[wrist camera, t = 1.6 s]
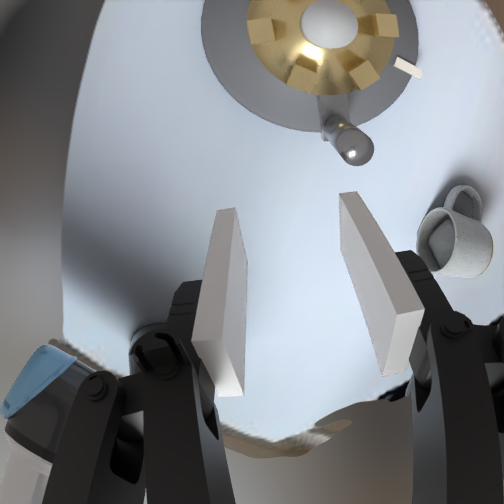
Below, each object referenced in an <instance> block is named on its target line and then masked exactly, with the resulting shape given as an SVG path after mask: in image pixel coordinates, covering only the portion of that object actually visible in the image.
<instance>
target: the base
mask: <svg viewBox="0 0 504 504" xmlns="http://www.w3.org/2000/svg"><path fill="white" fill-rule="evenodd" d="M250 1H251V0H205V3H204V6H203V12H202V18H201V34H202V42H203V47H204V50H205V54H206V57H207V60H208V62H209V64H210V66H211V69H212V71H213V72H214V74H215V75H216V77H217V79H218V80H219V82H220V83H221V84H222V86H223V87H224V88H225V89H226V91H227V92H228V93H229V94H230V95H231V96H232V97H233V98H234V99H235V100H236V101H237V102H238V103H240V104H241V105H242V106H244V107H245V108H246V109H248V110H249V111H250V112H252V113H254V114H255V115H257V116H259V117H261V118H262V119H265V120H267V121H269V122H271V123H274V124H276V125H279V126H283V127H286V128H289V129H294V130H299V131H307V132H321V128H320V119H319V110H318V102H317V94H309V93H306V92H303V91H301V90H298V89H295V88H293V87H291V86H289V85H287V84H285V83H284V82H282V81H280V80H279V79H278V78H276V77H275V76H274V75H273V74H271V73H270V72H269V71H268V70H267V69H266V68H265V67H264V66H263V65H262V63H261V62H260V61H259V59H258V58H257V56H256V54H255V53H254V51H253V49H252V46H251V44H250V40H249V36H248V32H247V12H248V7H249V4H250ZM385 2H386V4H387V6H388V8H389V10H390V13H391V14H395V15H396V17H397V23H398V30H399V37H395V38H394V46H393V51H392V54H391V56H390V59H389V61H388V63H387V65H386V66H385V68H384V69H383V70H382V72H381V73H380V74H379V77H380V79H379V80H377V81H376V82H374V83H373V84H371V85H370V86H368V87H366V88H365V89H363V90H362V91H361V90H358V89H357V90H355V91H352V92H349V93H347V94H348V104H349V116H350V122H351V123H352V124H353V125H355V126H358V125H360V124H362V123H365V122H367V121H369V120H371V119H373V118H374V117H376V116H378V115H379V114H381V113H382V112H383V111H385V110H386V109H387V108H389V107H390V106H391V105H392V104H393V103H394V102H395V101H396V100H397V99H398V97H399V96H400V95H401V93H402V92H403V91H404V89H405V88H406V86H407V84H408V82H409V80H410V79H411V76H414V77H416V78H418V79H420V78H421V75H422V72H423V70H421V69H419V68H418V67H416V66H415V64H416V60H417V55H418V29H417V24H416V19H415V16H414V13H413V10H412V7H411V5H410V3H409V1H408V0H385ZM299 26H300V30H301V33H302V35H303V36H304V38H305V39H306V40H307V41H308V42H309V43H311V44H312V45H314V46H316V47H319V48H324V49H331V48H340V47H344V46H346V45H348V44H349V43H351V42H352V41H353V39H354V38H355V36H356V34H357V31H358V22H357V18H356V16H355V14H354V12H353V11H352V10H351V9H350V8H349V7H348V6H347V5H346V4H344V3H342V2H340V1H338V0H318V1H316V2H314V3H312V4H311V5H310V6H309V7H307V8H306V9H305V10H304V11H303V13H302V15H301V17H300V21H299Z"/></svg>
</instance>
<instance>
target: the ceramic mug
mask: <svg viewBox="0 0 504 504" xmlns="http://www.w3.org/2000/svg"><path fill="white" fill-rule="evenodd" d="M461 191H464V192H466V193H467V194H468V195H469V196H470V197H472V200H473V205H474V206H473V208H474V211H473V218H469V217H467V216H464V215H462V214H460V213H457V212H455V211H453V205H454V203H455V201H456V198H457V196H458V194H459V193H460V192H461ZM481 217H482V201H481V198H480V196H479V194H478V192H477V191H476V190H475V189H474V188H472V187H471V186H468V185H457V186H455V187H453V188H452V189H451V190H450V191H449V193H448V195H447V198H446V200H445V203H444V206H443V207H437V208H434V209H433V210H431V211H430V212H429V213H428V214H427V215H426V216H425V218H424V219H423V221H422V223H421V225H420V228H419V231H418V235H417V243H416V249H417V255H418V256H420V257H421V258H422V259H423V261H424V262H425V264H426V265H427V267H428V270H429V271H430V272H431V273H432V274H433V275H442V276H452V277H461V278H470V277H475V276H478V275H480V274H481V273H483V272H484V271H485V270H486V268H487V267H488V265H489V263H490V261H491V258H492V254H493V241H492V237H491V234H490V232H489V231H488V229H487V228H486V227H485V226H484V225H483V224H481Z"/></svg>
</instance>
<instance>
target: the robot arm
mask: <svg viewBox="0 0 504 504" xmlns="http://www.w3.org/2000/svg"><path fill="white" fill-rule="evenodd" d="M339 209H340V246H341V252H342V255H343V258H344V261H345V263H346V266H347V269H348V272H349V274H350V277H351V280H352V283H353V286H354V289H355V292H356V294H357V297H358V300H359V303H360V306H361V309H362V312H363V315H364V318H365V321H366V325H367V328H368V331H369V334H370V337H371V340H372V344H373V347H374V350H375V354H376V357H377V360H378V364H379V367H380V371H381V374H382V377H383V376H388V375H392V374H397V373H401V372H405V371H406V368H407V366H408V363H409V362H410V365H411V367H412V370H413V374H412V377H411V379H410V382H409V384H408V387H407V389H406V394H405V396H409V394H410V392H411V397H412V414H413V446H414V447H413V449H414V463H413V496H412V504H504V496H503V479H504V317H502V319H501V321H500V323H499V325H498V326H484V325H474V324H472V322H471V320H470V319H469V318H468V317H466V316H465V315H464V314H462V313H459V312H457V311H453V309H452V307H451V306H450V304H449V302H448V300H447V299H446V297H445V295H444V293H443V292H442V290H441V288H440V287H439V285H438V283H437V282H436V280H435V279H434V277H433V275H432V273H431V272H430V271H429V270H428V267H427V265H426V264H425V262H424V261H423V259H422V258H421V257H420V256H418V255H417V254H415V253H414V252H413V251H411V250H408V251H402V252H394V251H393V249H392V247H391V246H390V244H389V242H388V240H387V239H386V237H385V235H384V234H383V232H382V230H381V229H380V227H379V225H378V224H377V222H376V221H375V219H374V217H373V216H372V214H371V212H370V211H369V209H368V208H367V206H366V205H365V203H364V201H363V200H362V198H361V197H360V195H359V194H358V192H348V193H340V194H339ZM247 265H248V262H247V258H246V253H245V249H244V244H243V240H242V235H241V231H240V226H239V222H238V217H237V212H236V208H230V209H224V210H218V211H217V212H216V217H215V221H214V226H213V231H212V236H211V240H210V245H209V250H208V255H207V260H206V265H205V270H204V275H203V280H196V281H188V282H183V283H182V284H181V285H180V287H179V288H178V289H177V291H176V292H175V293H174V297H173V301H172V304H171V305H172V307H171V308H170V312H169V317H168V319H167V323H162V324H153V325H149V326H146V327H143V328H141V329H140V330H138V331H137V332H136V333H135V335H134V336H133V338H132V341H131V344H130V348H129V367H130V375H129V376H126V377H122V378H119V379H117V378H116V377H115V376H114V375H113V374H112V373H111V372H107V371H96V370H94V369H92V368H90V367H89V366H87V365H85V364H83V363H82V362H80V361H78V360H77V357H75V356H73V357H72V356H70V355H69V354H67V353H65V352H63V351H61V350H60V349H58V348H56V347H54V346H52V345H42V346H40V347H39V348H38V349H37V350H36V351H35V352H34V353H33V355H32V356H31V357H30V359H29V360H28V362H27V363H26V365H25V366H24V368H23V369H22V371H21V372H20V374H19V375H18V377H17V378H16V380H15V382H14V383H13V385H12V387H11V388H10V390H9V392H8V394H7V396H6V397H5V400H4V402H3V403H2V405H1V407H0V413H1V414H2V415H3V417H4V418H5V419H8V422H7V424H6V427H5V430H4V434H5V436H6V439H7V441H8V443H9V445H10V449H11V450H10V453H9V456H8V459H7V462H6V466H5V469H4V472H3V476H2V479H1V483H0V504H143V502H144V496H145V491H146V492H147V504H236V503H235V498H234V494H233V489H232V485H231V479H230V474H229V470H228V465H227V460H226V454H225V449H224V444H223V438H222V433H221V427H220V421H219V416H218V410H217V408H216V405H215V403H214V393H215V390H216V392H217V394H218V396H219V397H228V396H244V377H245V338H246V301H247Z"/></svg>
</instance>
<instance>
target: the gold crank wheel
mask: <svg viewBox="0 0 504 504" xmlns="http://www.w3.org/2000/svg"><path fill="white" fill-rule="evenodd" d="M316 1H318V0H251V1H250V4H249V7H248V12H247V32H248V36H249V40H250V44H251V46H252V49H253V51H254V53H255V54H256V56H257V58H258V59H259V61H260V62H261V63H262V65H263V66H264V67H265V68H266V69H267V70H268V71H269V72H270V73H271V74H273V75H274V76H275V77H276V78H278V79H279V80H280V81H282V82H284V83H285V84H287V85H289V86H291V87H293V88H295V89H298V90H301V91H303V92H306V93H309V94H317V102H318V110H319V119H320V128H321V137H322V139H323V140H324V141H330V143H331V144H332V145H333V146H334V148H335V149H336V150H337V152H338V153H339V154H340V155H341V157H342V158H343V159H344V160H345V161H346V162H347V163H348V164H350V165H353V166H361V165H364V164H365V163H367V162H368V161H369V160H370V159H371V157H372V156H373V153H374V145H373V142H372V140H371V139H370V138H369V137H368V136H367V135H366V134H365V133H363V132H362V131H361V130H360V129H358V128H357V127H356V126H355V125H353V124H352V123H351V122H350V116H349V104H348V94H347V93H349V92H352V91H355V90H357V89H358V90H361V91H362V90H363V89H365V88H366V87H368V86H370V85H371V84H373V83H374V82H376V81H377V80H379V79H380V77H379V74H380V73H381V72H382V70H383V69H384V68H385V66H386V65H387V63H388V61H389V59H390V56H391V54H392V51H393V46H394V38H395V37H399V30H398V23H397V17H396V15H395V14H391V13H390V10H389V8H388V6H387V4H386V2H385V0H338V1H340V2H342V3H344V4H346V5H347V6H348V7H349V8H350V9H351V10H352V11H353V12H354V14H355V16H356V18H357V22H358V31H357V34H356V36H355V38H354V39H353V41H352V42H351V43H349V44H348V45H346V46H344V47H340V48H331V49H324V48H319V47H316V46H314V45H312V44H311V43H309V42H308V41H307V40H306V39H305V38H304V36H303V35H302V33H301V30H300V26H299V21H300V17H301V15H302V13H303V11H304V10H305V9H306V8H307V7H309V6H310V5H311V4H312V3H314V2H316Z"/></svg>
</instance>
